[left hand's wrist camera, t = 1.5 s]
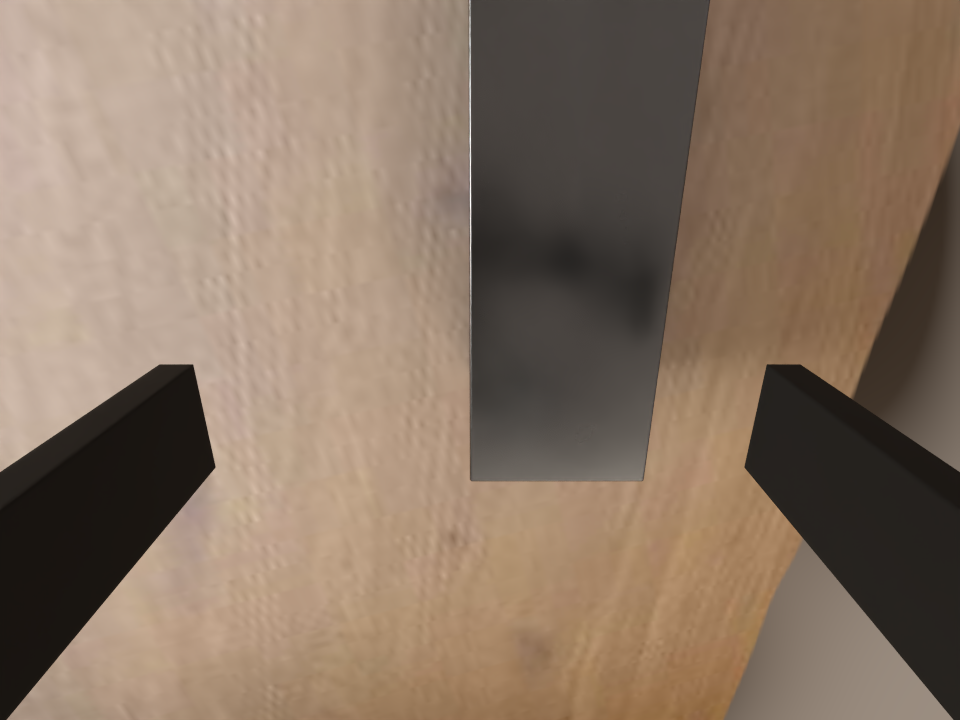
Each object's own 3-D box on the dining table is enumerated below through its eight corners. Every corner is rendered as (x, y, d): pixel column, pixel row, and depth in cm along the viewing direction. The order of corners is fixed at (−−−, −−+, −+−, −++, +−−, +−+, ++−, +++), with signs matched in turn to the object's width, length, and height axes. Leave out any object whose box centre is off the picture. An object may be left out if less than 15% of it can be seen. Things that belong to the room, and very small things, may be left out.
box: (590, 376, 27) (644, 482, 19) (471, 376, 27) (470, 482, 19) (636, -155, 20) (767, -406, 11) (471, -157, 20) (467, -410, 11)
